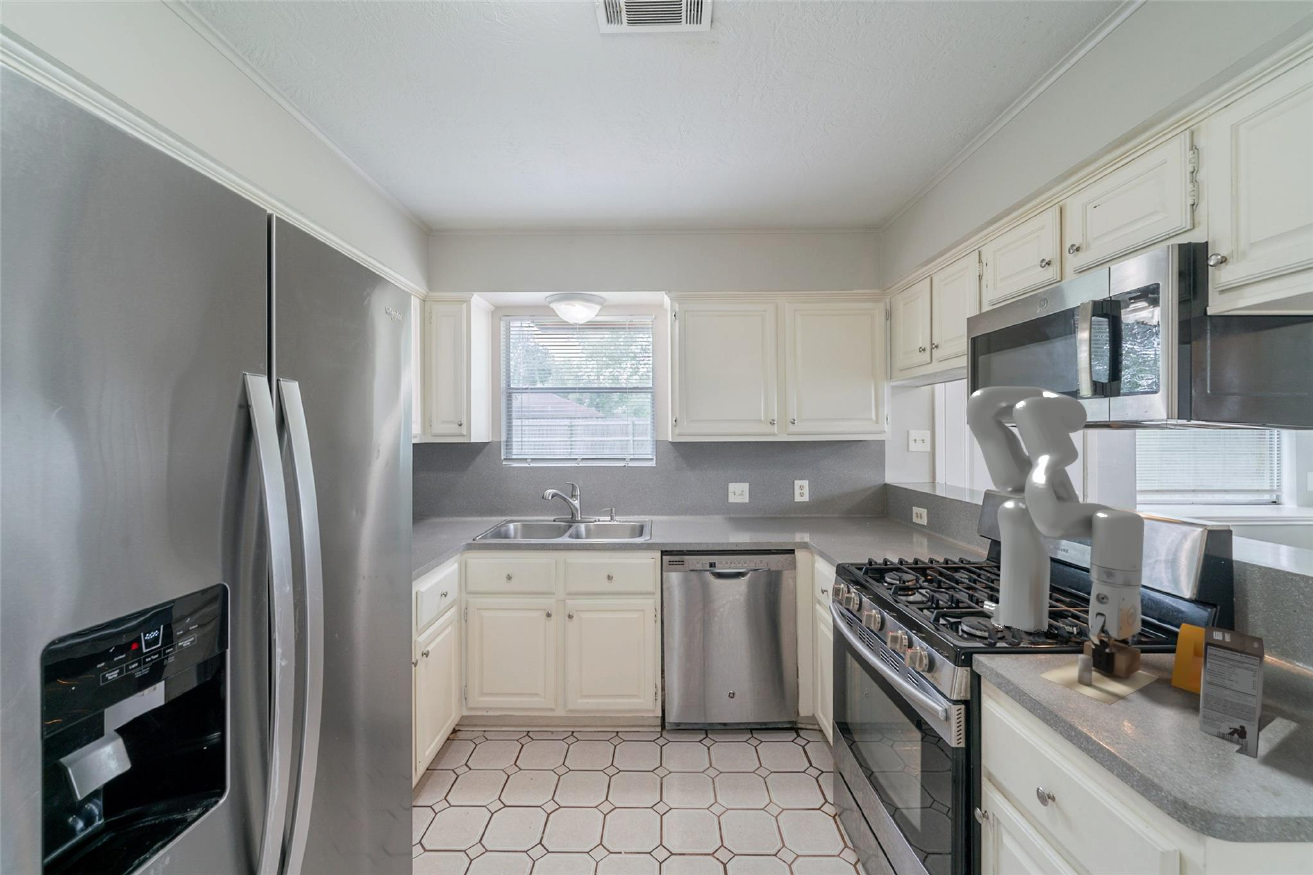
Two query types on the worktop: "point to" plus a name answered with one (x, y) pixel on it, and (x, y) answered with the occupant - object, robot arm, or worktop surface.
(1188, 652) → the bracket
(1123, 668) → the collar
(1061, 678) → the board
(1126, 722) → the worktop surface
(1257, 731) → the coffee box
